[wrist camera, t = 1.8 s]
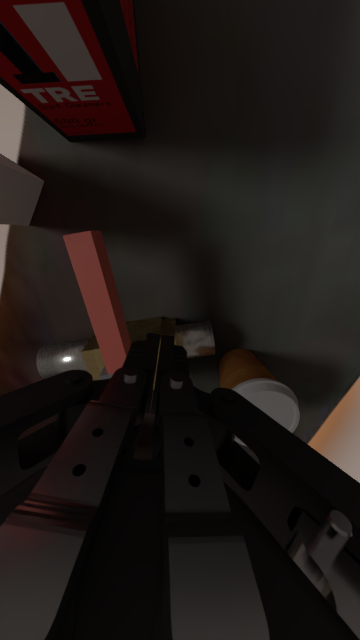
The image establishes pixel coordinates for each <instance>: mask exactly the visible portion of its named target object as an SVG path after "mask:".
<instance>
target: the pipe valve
mask: <svg viewBox="0 0 360 640" xmlns="http://www.w3.org/2000/svg"><path fill="white" fill-rule="evenodd" d="M126 326H127V330H128V333H129V337H130V341H131V344H132V343H134V342H135V341H136V340H140V341H146V338H147V334H148V333H153V334H160V335H161V337H162V335H168V336H175V341H174V345H179V346H183V347H184V348H185V349H186V351H187V358H195V357H202V356H209V355H215V354H216V351H215V342H214V335H213V330H212V325H211V322H210V320H209V321H202V322H196V323H189V324H183V325H177V324H176V319H175V318H169V319H163V320H162V317H156V318H149V319H143V320H137V321H130V322H126ZM161 337H160V344H161ZM160 344H159V351H160ZM159 351H158V358H159ZM36 363H37V369H38V372H39V373H40V375H41V376H42V377H43V378H45V379H46V378H49V377H52V376H54V375H57V374H60V373H62V372H65V371H69V370H84V371H87V372H89V373H90V374H91V375H92V377H93V380H100V377H99V375H100V373H101V372H102V370H103V368H104V366H105V363H104V360H103V357H102V354H101V351H100V348H99V345H98V342H97V339H96V336H95V335H94V336H93V337H92V339H86V340H79V341H73V342H66V343H60V344H53V345H47V346H43V347H42V348H41V349H40V350H39V352H38V354H37V360H36ZM157 365H158V359H157ZM156 372H157V366H156ZM156 372H155V379H156ZM155 379H154V386H155ZM154 386H153V390H154Z"/></svg>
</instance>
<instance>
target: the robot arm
mask: <svg viewBox="0 0 360 640" xmlns="http://www.w3.org/2000/svg"><path fill="white" fill-rule="evenodd" d="M160 337H161V335H160V334H153V333H148V334H147V338H146V341H140V340H136V341H135V342H134V343H132V344H131V346H130V349H129V351H128V354H127V356H126V359H125V361H124V364H123V366H122V367H121V368H119V369H117V370H116V371H115V372H114V374H113V376H112V377H111V378H109V379H103V380H93V377H92V375H91V374H90V373H89V372H87V371H84V370H69V371H65V372H62V373H60V374H57V375H54V376H52V377H49V378H46V379H44V380H41V381H38V382H36V383H33V384H30V385H28V386H25V387H23V388H20V389H17V390H15V391H12V392H9V393H7V394H4V395H1V396H0V640H360V483H359V482H357V481H356V480H355V479H353V478H352V477H351V476H349V475H348V474H347V473H345V472H344V471H342V470H341V469H340V468H338V467H337V466H336V465H334V464H333V463H332V462H330V461H329V460H328V459H326V458H325V457H324V456H322V455H321V454H320V453H318V452H317V451H316V450H314V449H313V448H311V447H310V446H309V445H307V444H306V443H305V442H303V441H302V440H301V439H299V438H298V437H297V436H295V435H294V434H293V433H291V432H290V431H289V430H287V429H286V428H285V427H283V426H282V425H281V424H279V423H278V422H277V421H275V420H274V419H272V418H271V417H270V416H268V415H267V414H266V413H264V412H263V411H262V410H260V409H259V408H258V407H256V406H255V405H254V404H252V403H251V402H250V401H248V400H247V399H246V398H244V397H243V396H242V395H240V394H239V393H237V392H236V391H234V390H232V389H229V388H216V389H214V390H213V391H212V392H211V394H209V393H206V392H203V391H201V390H199V389H197V388H196V387H194V386H193V382H192V380H191V378H190V377H189V370H188V358H187V351H186V349H185V348H184V347H183V346H179V345H174V341H175V336H168V335H162V337H161V344H160ZM159 344H160V351H159ZM158 351H159V358H158ZM157 359H158V365H157ZM156 366H157V372H156ZM155 372H156V379H155ZM154 379H155V386H154ZM153 386H154V393H153V401H152V408H151V413H153V414H155V419H154V426H153V448H152V459H149V460H138V459H135V458H133V455H134V451H135V447H136V444H137V440H138V437H139V433H140V430H141V424H142V421H143V419H144V414H145V413H149V412H150V405H151V399H152V392H153ZM54 415H55V421H54V422H53V423H51V424H49V425H47V426H45V427H43V428H41V429H39V430H37V431H36V432H34V433H32V434H30V435H28V436H26V437H24V438H22V439H20V440H19V441H17V440H18V438H19V436H20V435H21V434H22V433H23V432H24V431H25V430H26V429H28V428H30V427H32V426H34V425H36V424H38V423H40V422H42V421H44V420H46V419H48V418H50V417H52V416H54ZM235 436H237V437H238V438H239V439H240V440H241V441H242V442H243V443H244V444H245V445H246V446H247V447H249V448H250V449H251V450H252V451H253V452H254V453H255V454H256V456H257V457H258V459H259V462H260V465H259V464H258V463H257V462H256V461H255V460H254V459H253V458H252V457H251V456H250V455H249V454H248V453H247V452H246V451H244V450H243V449H242V448H241V447H240V446H239V445H238V444H237V443H236V442H235V441H234V439H235Z"/></svg>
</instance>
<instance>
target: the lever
mask: <svg viewBox="0 0 360 640" xmlns="http://www.w3.org/2000/svg"><path fill="white" fill-rule="evenodd" d="M63 238H64V241H65V244H66V247H67V250H68V253H69V256H70V259H71V262H72V265H73V269H74V272H75V275H76V278H77V281H78V284H79V287H80V290H81V293H82V296H83V299H84V302H85V305H86V308H87V311H88V314H89V317H90V320H91V323H92V327H93V330H94V333H95V336H96V339H97V342H98V345H99V348H100V351H101V354H102V357H103V360H104V363H105V366H104V368H103V370H102V372H101V373H100V375H99V377H100V380H103V379H109V378H111V377H112V376H113V374H114V372H115V371H116V370H117V369H119V368H121V367H122V366H123V364H124V361H125V359H126V356H127V354H128V351H129V349H130V346H131V341H130V337H129V333H128V330H127V326H126V322H125V319H124V315H123V311H122V307H121V304H120V300H119V296H118V293H117V289H116V285H115V281H114V278H113V274H112V270H111V266H110V263H109V259H108V255H107V252H106V248H105V244H104V240H103V237H102V233H101V231H86V232H80V233H75V234H69V235H63Z"/></svg>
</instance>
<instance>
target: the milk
mask: <svg viewBox="0 0 360 640" xmlns="http://www.w3.org/2000/svg"><path fill="white" fill-rule="evenodd" d="M43 184H44V181H43V180H42V179H40V178H39V177H37V176H35V175H34V174H32V173H31V172H29V171H27V170H26V169H24V168H22V167H21V166H19V165H18V164H16V163H14V162H13V161H11V160H9V159H8V158H6V157H5V156H3V155H2V154H0V224H9V225H29V224H30V222H31V219H32V216H33V213H34V210H35V207H36V204H37V202H38V199H39V196H40V193H41V190H42V187H43Z"/></svg>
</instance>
